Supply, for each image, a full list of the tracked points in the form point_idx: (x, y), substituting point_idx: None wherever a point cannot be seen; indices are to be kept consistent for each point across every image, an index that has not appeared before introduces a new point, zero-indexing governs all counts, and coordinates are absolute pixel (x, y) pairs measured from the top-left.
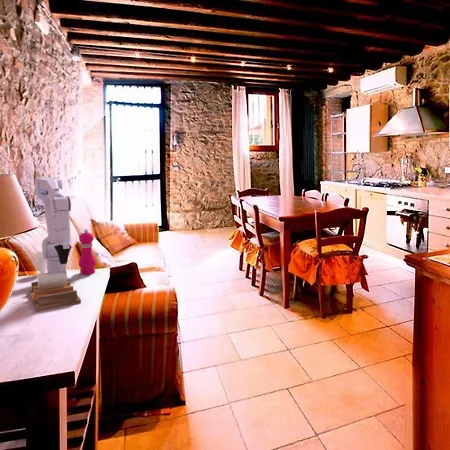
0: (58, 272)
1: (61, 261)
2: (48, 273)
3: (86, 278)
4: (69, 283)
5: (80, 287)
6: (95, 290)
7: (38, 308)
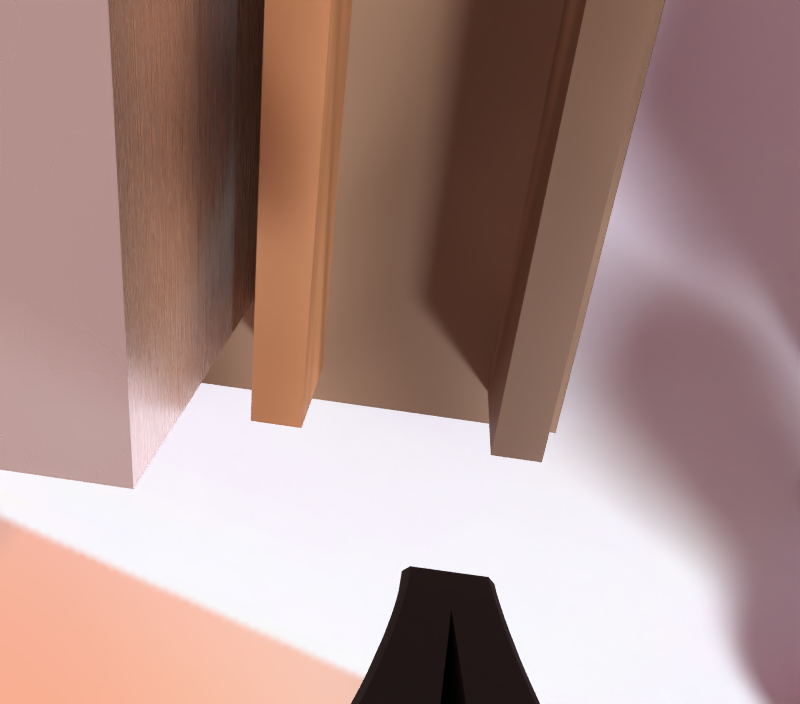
0: (31, 350)
1: (388, 632)
2: (36, 142)
3: (702, 649)
4: (254, 404)
5: (416, 492)
6: (212, 560)
7: None
